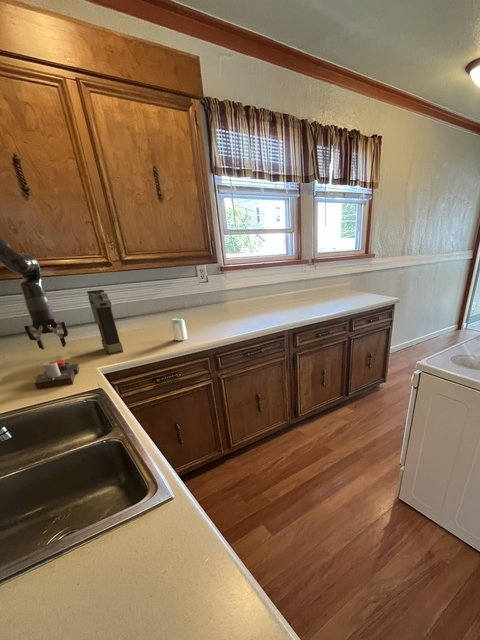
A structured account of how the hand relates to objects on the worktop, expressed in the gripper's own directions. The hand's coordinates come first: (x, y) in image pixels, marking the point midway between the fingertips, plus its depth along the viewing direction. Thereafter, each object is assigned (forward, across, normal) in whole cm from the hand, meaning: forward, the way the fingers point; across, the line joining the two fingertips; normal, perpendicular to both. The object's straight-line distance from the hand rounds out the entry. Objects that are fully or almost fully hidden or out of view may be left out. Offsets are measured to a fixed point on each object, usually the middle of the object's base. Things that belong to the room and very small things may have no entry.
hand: (53, 347), depth 138 cm
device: (+12, -20, -26) cm, 35 cm away
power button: (+8, 0, 0) cm, 8 cm away
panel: (+12, +1, +11) cm, 16 cm away
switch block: (+12, 0, 0) cm, 12 cm away
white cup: (+9, +1, +11) cm, 14 cm away
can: (+12, -55, -29) cm, 63 cm away
